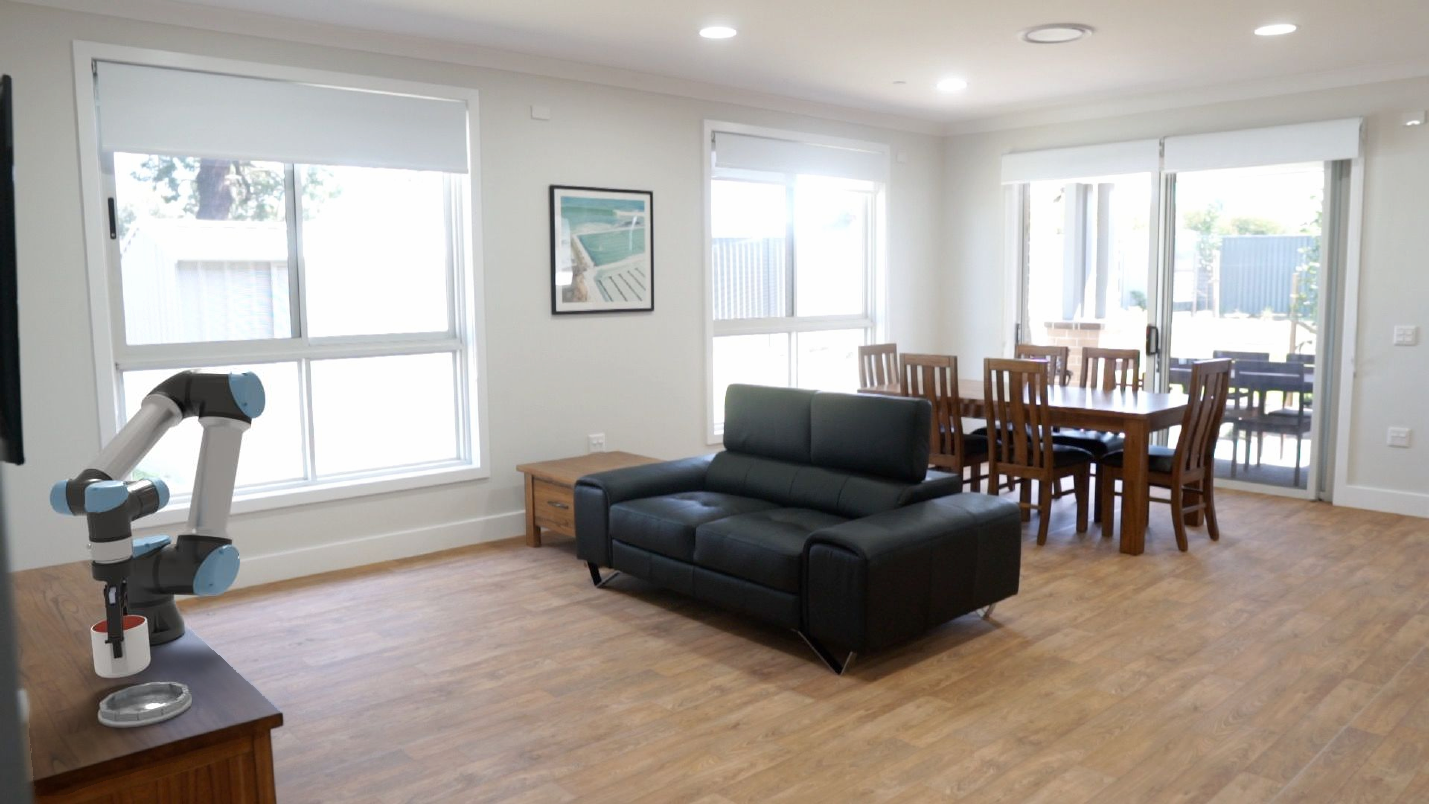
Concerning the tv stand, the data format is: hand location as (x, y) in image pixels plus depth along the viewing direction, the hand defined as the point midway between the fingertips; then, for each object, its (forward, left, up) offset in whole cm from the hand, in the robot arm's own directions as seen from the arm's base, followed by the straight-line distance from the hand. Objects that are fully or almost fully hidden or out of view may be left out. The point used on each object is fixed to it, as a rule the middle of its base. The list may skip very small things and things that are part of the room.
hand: (122, 661), depth 210 cm
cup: (0, 0, -2) cm, 2 cm away
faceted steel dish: (+13, +10, -5) cm, 17 cm away
